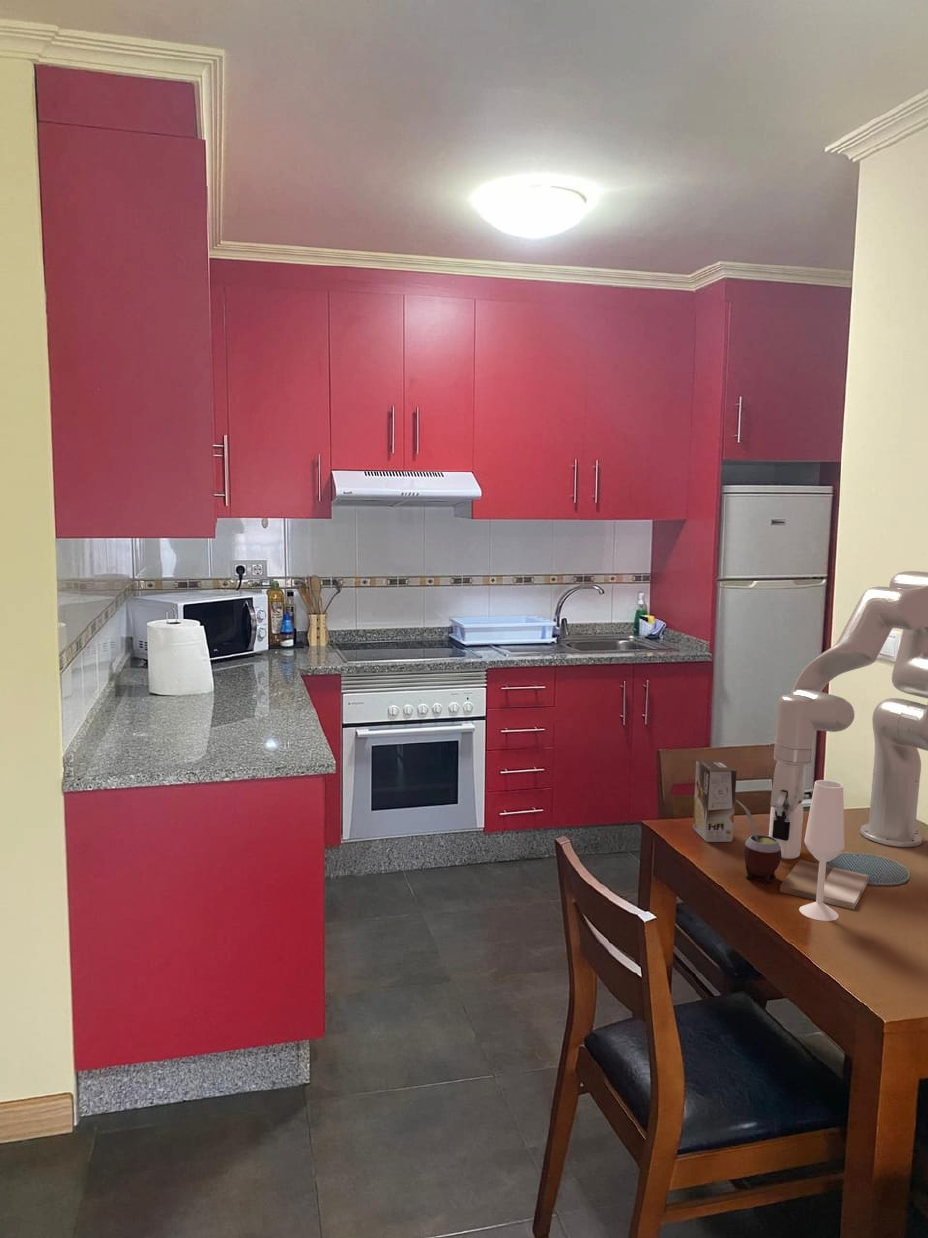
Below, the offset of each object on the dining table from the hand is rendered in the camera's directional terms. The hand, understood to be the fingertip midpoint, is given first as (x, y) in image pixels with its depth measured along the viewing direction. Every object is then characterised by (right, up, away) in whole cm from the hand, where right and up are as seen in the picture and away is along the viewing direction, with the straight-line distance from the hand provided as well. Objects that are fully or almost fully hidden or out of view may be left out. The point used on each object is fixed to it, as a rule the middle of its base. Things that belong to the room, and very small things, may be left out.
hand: (786, 832), depth 191 cm
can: (0, -5, +1) cm, 5 cm away
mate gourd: (-10, -6, -12) cm, 17 cm away
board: (+2, -7, -16) cm, 17 cm away
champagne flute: (-4, -8, -28) cm, 29 cm away
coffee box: (-13, -3, +11) cm, 17 cm away
